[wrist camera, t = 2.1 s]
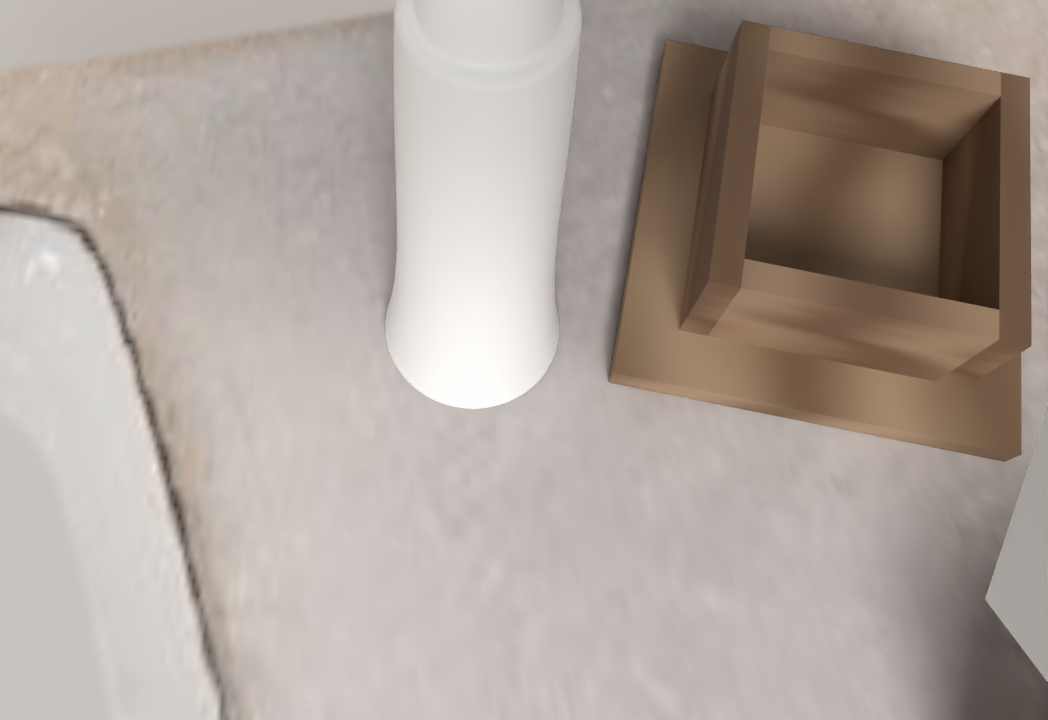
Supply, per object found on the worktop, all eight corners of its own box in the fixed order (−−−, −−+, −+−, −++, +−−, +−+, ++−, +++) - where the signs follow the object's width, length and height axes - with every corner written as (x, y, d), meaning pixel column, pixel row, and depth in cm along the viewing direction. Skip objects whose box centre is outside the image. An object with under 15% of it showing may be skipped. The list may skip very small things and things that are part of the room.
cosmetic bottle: (441, 442, 31) (419, -59, 11) (354, 299, 33) (186, -382, 12) (591, 356, 33) (826, -234, 12) (501, 222, 34) (572, -502, 14)
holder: (1006, 125, 37) (1085, 42, 33) (1004, 461, 32) (1098, 420, 28) (661, 56, 37) (691, -37, 33) (608, 382, 32) (634, 327, 28)
